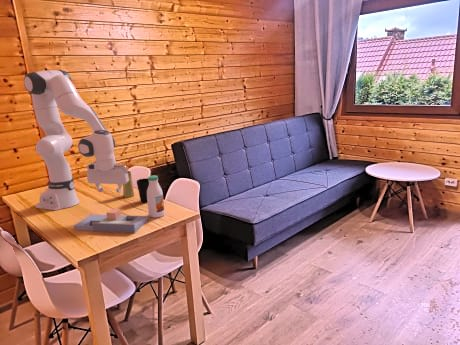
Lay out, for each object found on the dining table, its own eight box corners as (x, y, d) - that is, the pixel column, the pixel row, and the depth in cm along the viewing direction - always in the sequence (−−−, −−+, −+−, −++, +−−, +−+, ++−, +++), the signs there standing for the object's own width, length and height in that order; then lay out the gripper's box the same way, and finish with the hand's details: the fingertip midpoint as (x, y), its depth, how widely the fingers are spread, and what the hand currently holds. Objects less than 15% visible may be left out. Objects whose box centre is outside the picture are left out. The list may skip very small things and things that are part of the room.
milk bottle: (151, 219, 172) (147, 179, 167) (147, 214, 179) (142, 175, 173) (166, 216, 175) (163, 176, 170) (162, 211, 182) (158, 173, 177)
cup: (149, 203, 193) (147, 182, 190) (136, 203, 195) (134, 182, 191) (155, 199, 200) (153, 178, 197) (142, 198, 202) (140, 178, 199)
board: (73, 230, 163) (71, 222, 162) (91, 217, 177) (89, 210, 176) (134, 233, 157) (133, 224, 156) (148, 219, 171) (147, 212, 170)
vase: (124, 194, 210) (121, 171, 207) (135, 193, 211) (132, 170, 207) (122, 197, 205) (119, 173, 201) (133, 197, 205) (130, 173, 201)
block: (107, 219, 169) (106, 212, 168) (112, 215, 173) (111, 209, 172) (116, 219, 168) (115, 213, 167) (120, 216, 172) (119, 209, 171)
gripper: (129, 162, 171) (132, 190, 175) (90, 162, 175) (94, 189, 179) (123, 166, 165) (126, 194, 169) (83, 165, 169) (87, 193, 173)
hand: (109, 191), depth 174 cm, fingers open, 8 cm apart
